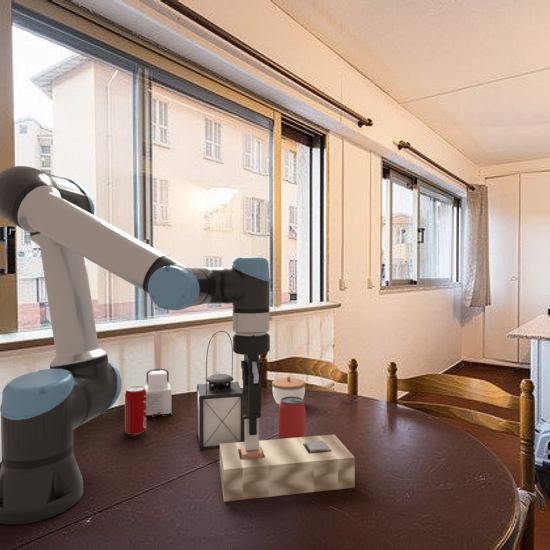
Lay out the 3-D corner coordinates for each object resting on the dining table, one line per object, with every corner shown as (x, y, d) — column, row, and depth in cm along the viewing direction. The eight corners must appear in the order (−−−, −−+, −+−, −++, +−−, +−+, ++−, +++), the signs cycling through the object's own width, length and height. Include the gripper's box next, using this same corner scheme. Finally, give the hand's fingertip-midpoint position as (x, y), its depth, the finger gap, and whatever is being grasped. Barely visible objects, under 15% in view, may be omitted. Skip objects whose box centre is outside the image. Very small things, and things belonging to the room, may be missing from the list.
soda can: (147, 434, 110) (147, 389, 110) (125, 437, 108) (125, 391, 108) (145, 426, 115) (145, 383, 115) (124, 429, 113) (124, 385, 113)
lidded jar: (311, 404, 135) (311, 375, 135) (294, 413, 126) (294, 382, 126) (282, 398, 141) (282, 371, 141) (265, 407, 132) (265, 378, 132)
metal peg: (310, 479, 85) (310, 449, 85) (305, 469, 89) (305, 442, 89) (329, 477, 86) (329, 448, 86) (323, 468, 90) (323, 440, 90)
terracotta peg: (242, 484, 82) (242, 454, 82) (240, 475, 86) (240, 446, 86) (262, 482, 83) (262, 452, 83) (259, 473, 87) (259, 444, 87)
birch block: (223, 501, 77) (223, 469, 77) (219, 471, 89) (219, 443, 89) (354, 487, 83) (354, 457, 83) (334, 460, 94) (334, 434, 94)
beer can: (303, 455, 97) (303, 404, 97) (276, 453, 98) (276, 402, 98) (307, 444, 103) (307, 396, 103) (281, 442, 105) (281, 394, 105)
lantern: (238, 430, 113) (238, 327, 113) (245, 446, 102) (244, 333, 102) (196, 434, 110) (196, 329, 110) (199, 451, 99) (198, 334, 99)
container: (144, 409, 130) (144, 368, 130) (169, 407, 132) (169, 366, 132) (144, 417, 123) (144, 373, 123) (171, 415, 125) (171, 372, 125)
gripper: (275, 337, 79) (276, 460, 79) (263, 328, 91) (264, 434, 92) (236, 338, 77) (237, 464, 77) (230, 329, 90) (230, 437, 90)
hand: (251, 448), depth 84 cm, fingers closed
